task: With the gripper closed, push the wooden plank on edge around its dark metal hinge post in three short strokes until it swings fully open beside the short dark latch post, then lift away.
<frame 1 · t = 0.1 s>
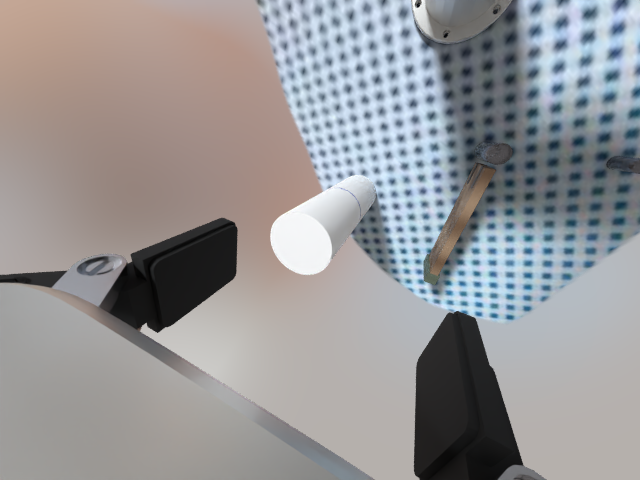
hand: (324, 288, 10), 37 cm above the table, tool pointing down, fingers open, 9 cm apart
cylindrical container: (357, 193, 45), on the table
latch post: (615, 162, 30), on the table
wooden plank on edge: (453, 225, 36), point 5 cm above the table, hinge at 0.0°
hinge post: (484, 150, 35), on the table
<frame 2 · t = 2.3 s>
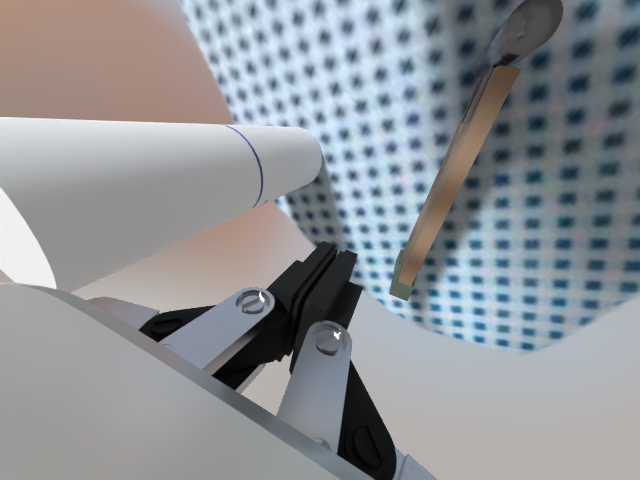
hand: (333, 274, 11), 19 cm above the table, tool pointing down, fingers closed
cylindrical container: (297, 157, 30), on the table
wooden plank on edge: (437, 200, 21), point 4 cm above the table, hinge at 0.0°
hinge post: (492, 63, 19), on the table
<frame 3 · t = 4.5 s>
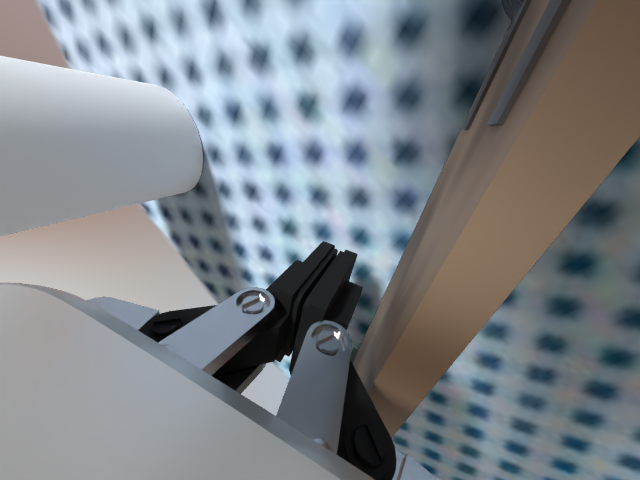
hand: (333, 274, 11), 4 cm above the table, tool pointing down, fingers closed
cylindrical container: (167, 143, 17), on the table
wooden plank on edge: (405, 307, 9), point 5 cm above the table, hinge at 7.7°, touching gripper
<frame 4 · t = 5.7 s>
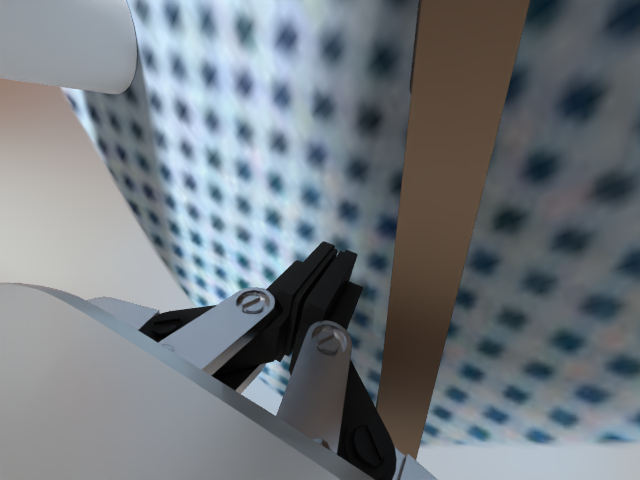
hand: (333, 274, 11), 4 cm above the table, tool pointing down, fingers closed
cylindrical container: (100, 31, 15), on the table
wooden plank on edge: (411, 299, 9), point 4 cm above the table, hinge at 39.3°, touching gripper
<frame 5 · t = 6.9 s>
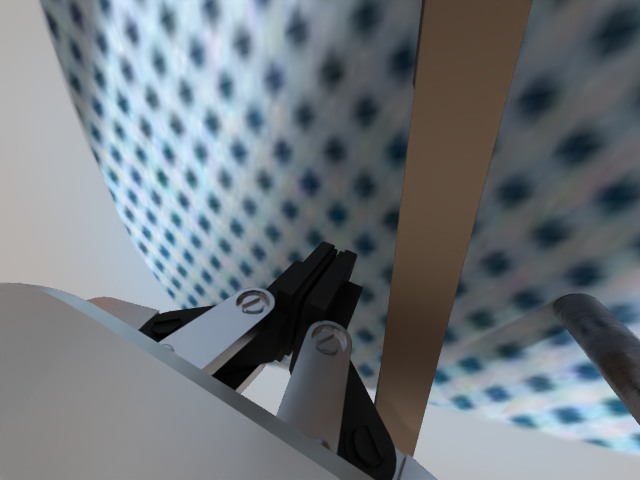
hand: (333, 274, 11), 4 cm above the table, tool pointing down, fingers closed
latch post: (576, 308, 11), on the table
wooden plank on edge: (411, 294, 9), point 4 cm above the table, hinge at 68.2°, touching gripper
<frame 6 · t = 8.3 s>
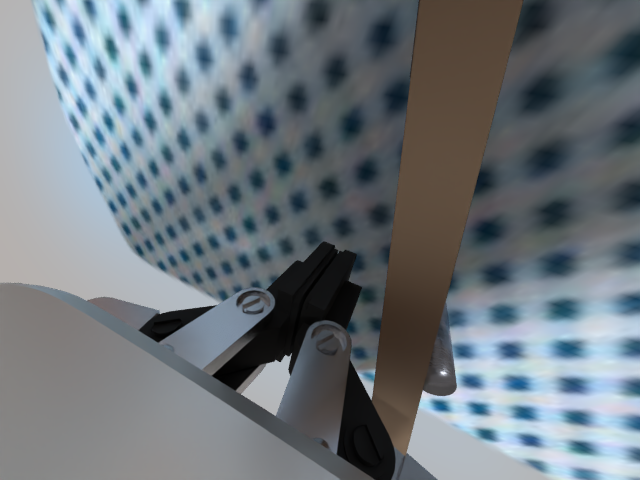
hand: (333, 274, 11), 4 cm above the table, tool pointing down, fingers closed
latch post: (431, 305, 14), on the table
wooden plank on edge: (409, 289, 9), point 5 cm above the table, hinge at 91.5°, touching gripper
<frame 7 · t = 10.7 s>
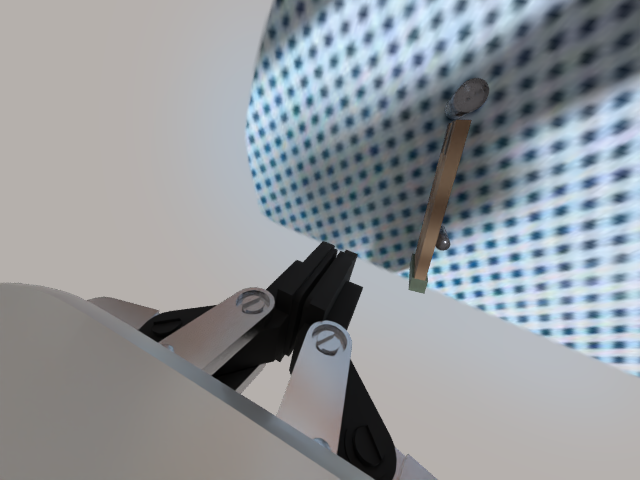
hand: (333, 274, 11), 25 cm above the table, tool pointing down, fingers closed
latch post: (439, 230, 32), on the table
wooden plank on edge: (434, 210, 27), point 4 cm above the table, hinge at 90.3°
hinge post: (456, 108, 27), on the table
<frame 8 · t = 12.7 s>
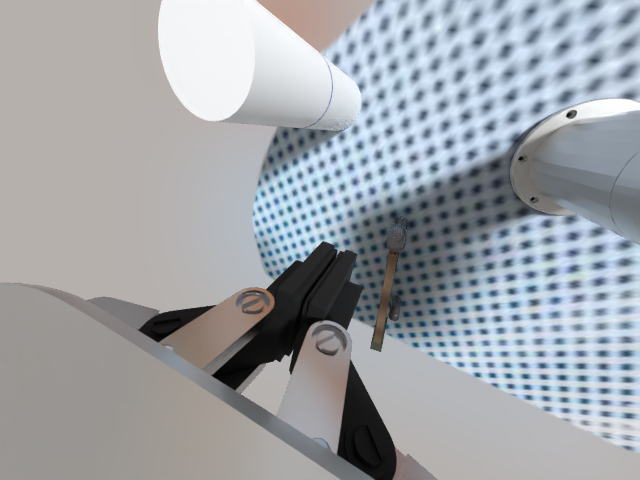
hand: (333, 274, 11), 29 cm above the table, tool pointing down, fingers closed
cylindrical container: (338, 104, 35), on the table
latch post: (396, 299, 43), on the table
wooden plank on edge: (386, 294, 38), point 4 cm above the table, hinge at 90.3°
hinge post: (400, 223, 38), on the table
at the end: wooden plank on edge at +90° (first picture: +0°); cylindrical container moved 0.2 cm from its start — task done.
